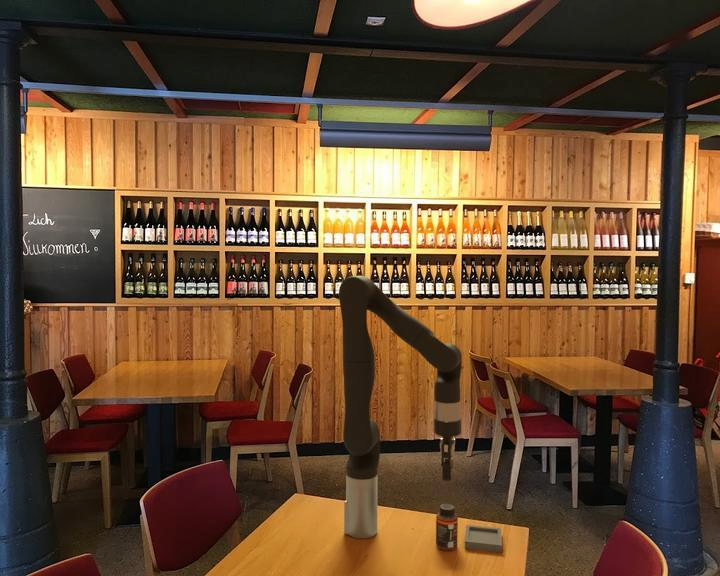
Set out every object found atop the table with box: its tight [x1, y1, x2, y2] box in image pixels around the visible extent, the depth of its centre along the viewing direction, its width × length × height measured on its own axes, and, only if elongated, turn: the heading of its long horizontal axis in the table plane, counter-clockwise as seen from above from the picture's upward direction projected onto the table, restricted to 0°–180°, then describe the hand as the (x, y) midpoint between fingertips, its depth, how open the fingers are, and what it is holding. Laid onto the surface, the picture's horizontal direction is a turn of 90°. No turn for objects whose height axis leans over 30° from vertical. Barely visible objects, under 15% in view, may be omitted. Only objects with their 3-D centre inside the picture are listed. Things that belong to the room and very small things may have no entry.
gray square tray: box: [464, 524, 503, 553], centre depth 158 cm, size 10×10×2 cm
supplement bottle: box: [435, 503, 459, 552], centre depth 155 cm, size 6×6×11 cm
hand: (447, 474), depth 154 cm, fingers open, 8 cm apart
